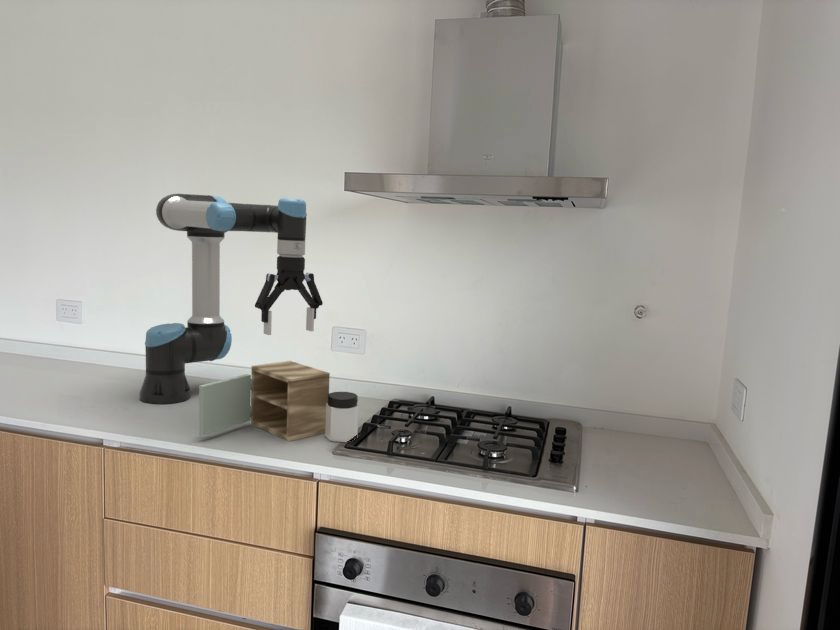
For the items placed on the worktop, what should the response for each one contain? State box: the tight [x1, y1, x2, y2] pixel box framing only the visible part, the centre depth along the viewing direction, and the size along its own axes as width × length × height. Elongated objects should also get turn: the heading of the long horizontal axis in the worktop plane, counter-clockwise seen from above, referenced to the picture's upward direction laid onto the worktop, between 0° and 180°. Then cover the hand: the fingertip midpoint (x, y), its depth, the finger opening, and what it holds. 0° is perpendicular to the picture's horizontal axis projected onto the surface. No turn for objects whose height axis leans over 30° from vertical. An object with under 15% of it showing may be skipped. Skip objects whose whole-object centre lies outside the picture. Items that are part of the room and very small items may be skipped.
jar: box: [324, 391, 359, 443], centre depth 183 cm, size 9×8×12 cm
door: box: [198, 373, 252, 437], centre depth 182 cm, size 18×3×13 cm, turn 151°
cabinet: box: [250, 360, 331, 442], centre depth 188 cm, size 19×13×17 cm
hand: (289, 332), depth 185 cm, fingers open, 13 cm apart
